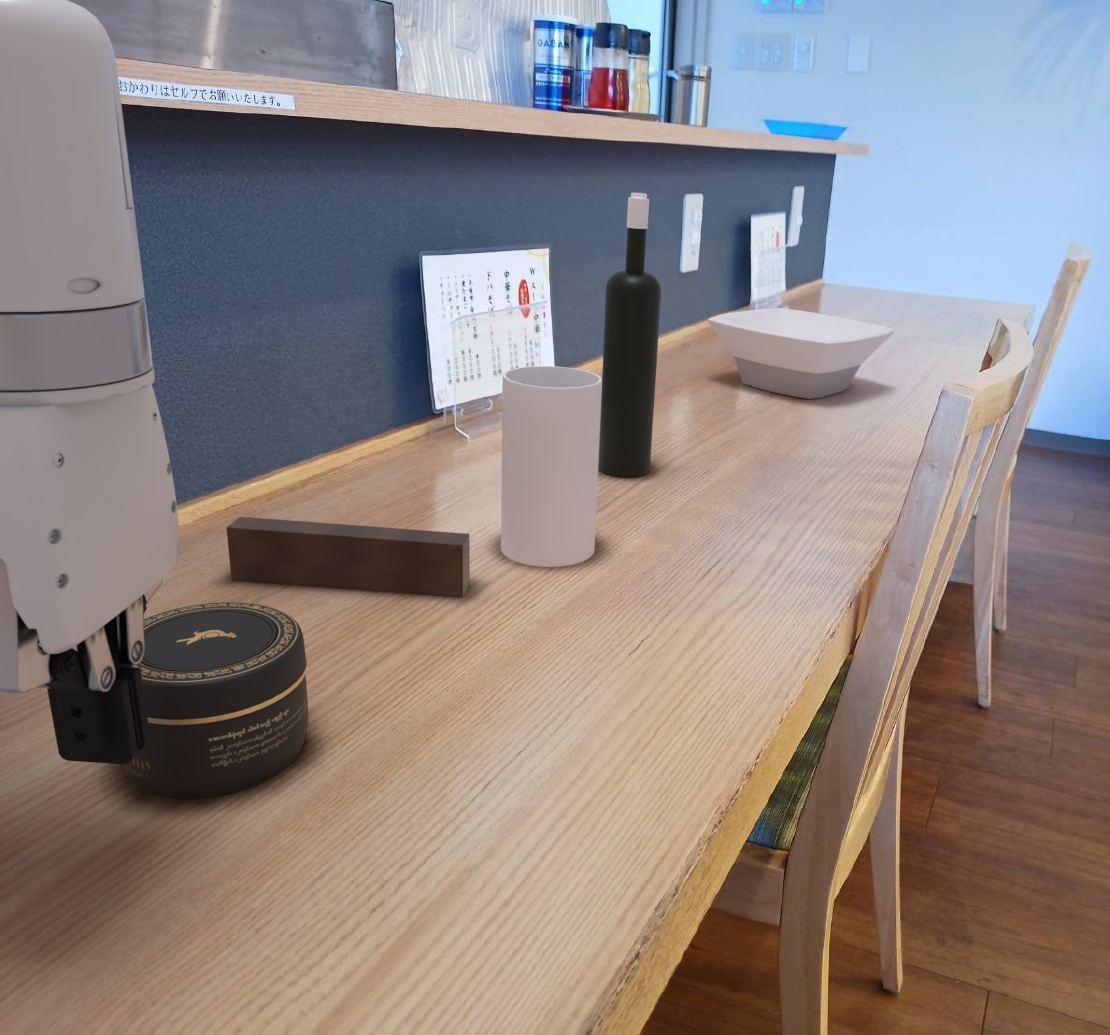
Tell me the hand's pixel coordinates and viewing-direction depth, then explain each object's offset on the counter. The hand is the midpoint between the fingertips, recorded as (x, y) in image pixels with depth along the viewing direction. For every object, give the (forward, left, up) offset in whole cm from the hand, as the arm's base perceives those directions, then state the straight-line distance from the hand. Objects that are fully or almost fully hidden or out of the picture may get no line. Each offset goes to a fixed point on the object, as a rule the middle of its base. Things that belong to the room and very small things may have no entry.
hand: (106, 751), depth 44 cm
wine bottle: (+19, +67, -7) cm, 70 cm away
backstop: (0, +33, -7) cm, 34 cm away
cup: (+14, +43, -7) cm, 46 cm away
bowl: (+43, +119, -7) cm, 127 cm away
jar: (0, +10, -7) cm, 13 cm away
